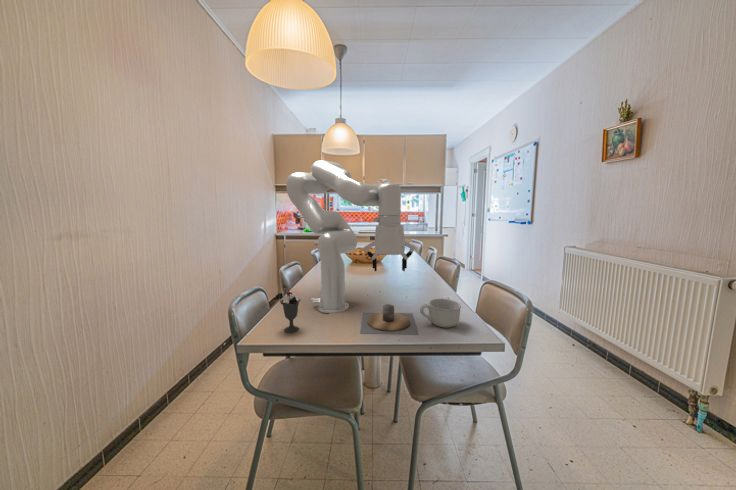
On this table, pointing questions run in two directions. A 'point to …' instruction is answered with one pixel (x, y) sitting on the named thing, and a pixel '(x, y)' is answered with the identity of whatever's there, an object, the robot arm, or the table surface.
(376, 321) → the lid
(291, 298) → the sundae
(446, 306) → the teacup
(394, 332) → the mat
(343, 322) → the table surface
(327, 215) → the robot arm
